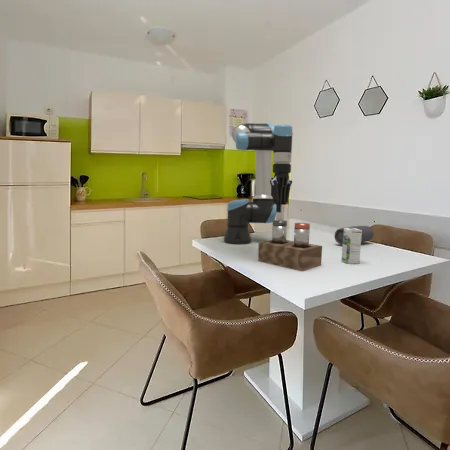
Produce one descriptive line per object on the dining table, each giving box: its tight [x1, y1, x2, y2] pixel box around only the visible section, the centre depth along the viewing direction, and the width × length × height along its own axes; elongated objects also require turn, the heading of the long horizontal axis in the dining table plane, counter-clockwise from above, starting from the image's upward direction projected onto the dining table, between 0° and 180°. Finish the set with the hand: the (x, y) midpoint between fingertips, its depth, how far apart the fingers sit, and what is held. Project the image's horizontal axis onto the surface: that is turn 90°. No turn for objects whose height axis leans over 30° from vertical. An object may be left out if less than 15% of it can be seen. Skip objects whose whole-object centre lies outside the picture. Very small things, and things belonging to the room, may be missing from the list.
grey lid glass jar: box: [271, 219, 288, 244], centre depth 147 cm, size 6×6×10 cm
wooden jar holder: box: [257, 239, 323, 272], centre depth 144 cm, size 22×14×8 cm, turn 45°
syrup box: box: [341, 227, 362, 265], centre depth 147 cm, size 6×6×14 cm
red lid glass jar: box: [293, 222, 311, 248], centre depth 139 cm, size 6×6×10 cm
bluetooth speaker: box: [333, 225, 374, 245], centre depth 188 cm, size 23×9×10 cm, turn 123°
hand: (279, 219), depth 146 cm, fingers closed
